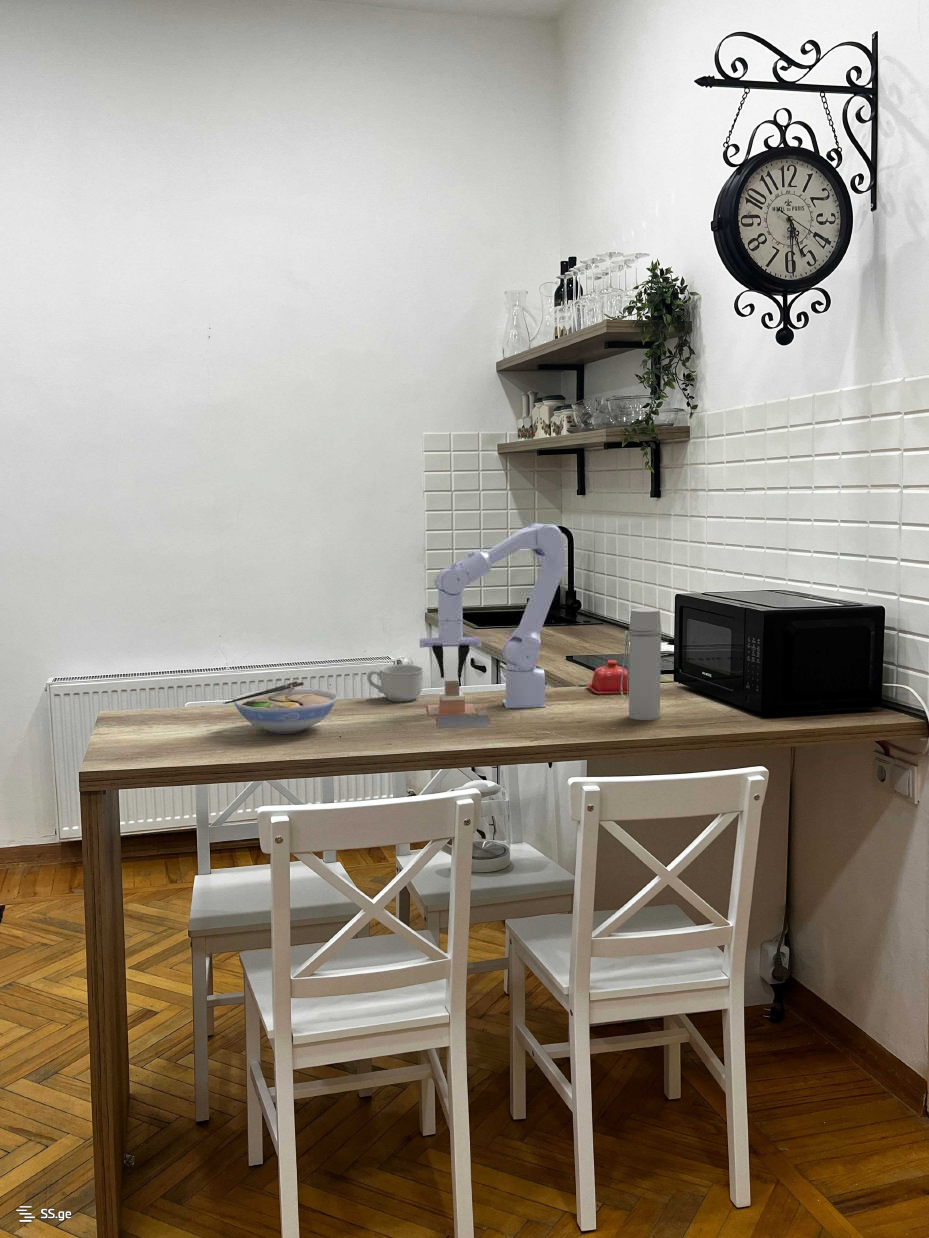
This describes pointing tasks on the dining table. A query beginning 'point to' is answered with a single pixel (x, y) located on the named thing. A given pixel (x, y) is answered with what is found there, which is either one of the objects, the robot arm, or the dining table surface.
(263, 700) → the ramen bowl
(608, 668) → the butter dish
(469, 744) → the dining table surface
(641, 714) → the water bottle
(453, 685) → the lid
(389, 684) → the teacup
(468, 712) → the salmon stepped square block
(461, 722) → the mat
